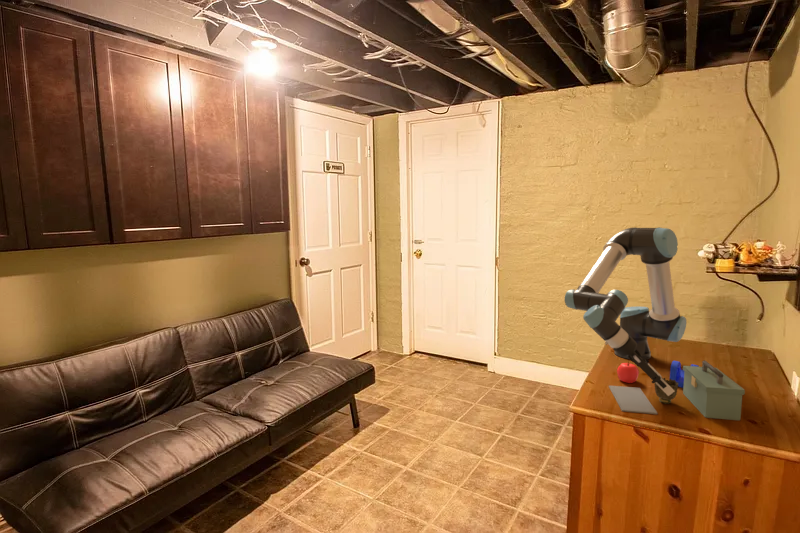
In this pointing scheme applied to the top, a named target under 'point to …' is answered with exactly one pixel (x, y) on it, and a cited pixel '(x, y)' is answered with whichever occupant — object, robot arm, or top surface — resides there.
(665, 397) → the cup
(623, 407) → the rubber mat
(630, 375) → the apple
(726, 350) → the top surface
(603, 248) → the robot arm
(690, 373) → the toolbox
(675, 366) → the bracket
